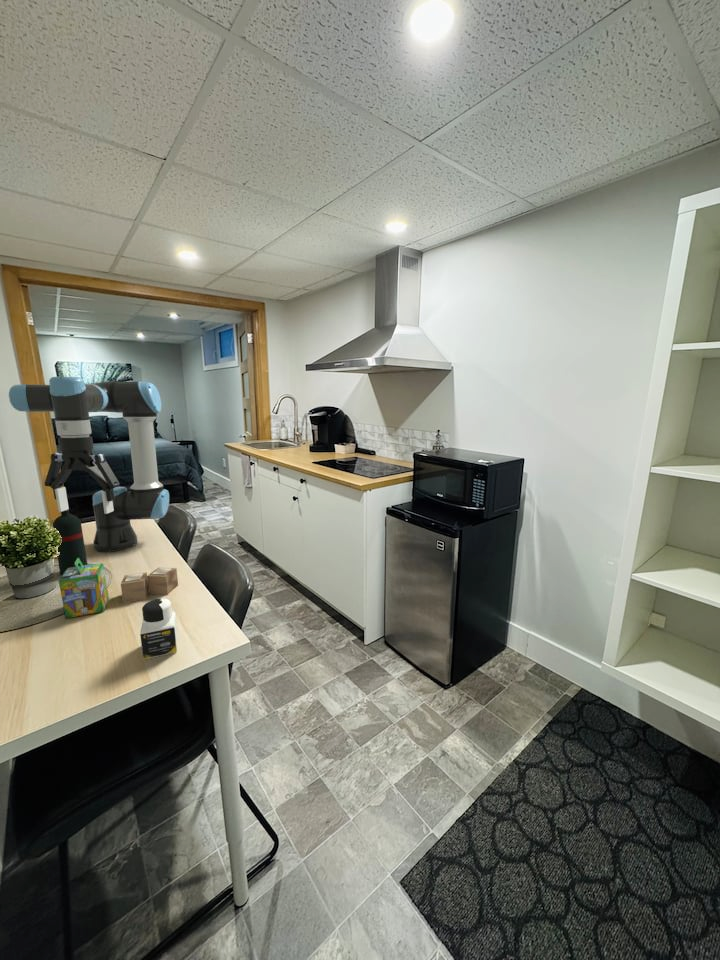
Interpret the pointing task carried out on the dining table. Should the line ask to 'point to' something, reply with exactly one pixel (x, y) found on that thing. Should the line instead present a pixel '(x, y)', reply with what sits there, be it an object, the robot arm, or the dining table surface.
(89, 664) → the dining table surface
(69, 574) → the chalk box
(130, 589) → the walnut block
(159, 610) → the medicine bottle
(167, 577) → the walnut block
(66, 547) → the wine bottle
